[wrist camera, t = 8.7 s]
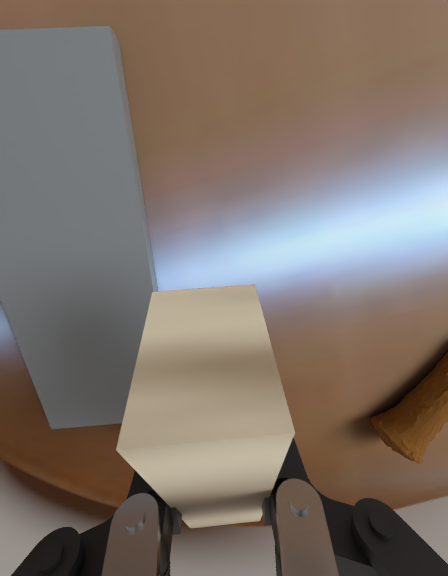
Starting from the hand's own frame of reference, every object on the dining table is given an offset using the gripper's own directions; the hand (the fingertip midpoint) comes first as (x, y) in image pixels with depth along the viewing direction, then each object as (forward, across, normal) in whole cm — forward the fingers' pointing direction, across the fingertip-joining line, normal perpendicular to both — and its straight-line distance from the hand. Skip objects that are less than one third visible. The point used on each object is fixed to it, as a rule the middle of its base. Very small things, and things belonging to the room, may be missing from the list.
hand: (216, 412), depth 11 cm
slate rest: (+5, +7, -6) cm, 10 cm away
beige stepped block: (+1, 0, 0) cm, 1 cm away
